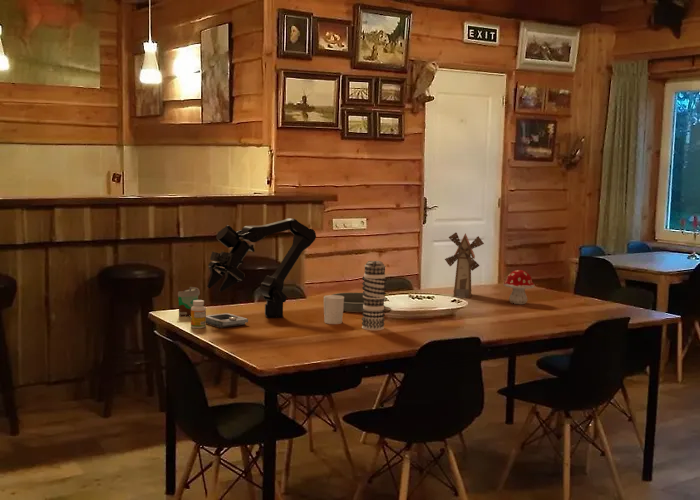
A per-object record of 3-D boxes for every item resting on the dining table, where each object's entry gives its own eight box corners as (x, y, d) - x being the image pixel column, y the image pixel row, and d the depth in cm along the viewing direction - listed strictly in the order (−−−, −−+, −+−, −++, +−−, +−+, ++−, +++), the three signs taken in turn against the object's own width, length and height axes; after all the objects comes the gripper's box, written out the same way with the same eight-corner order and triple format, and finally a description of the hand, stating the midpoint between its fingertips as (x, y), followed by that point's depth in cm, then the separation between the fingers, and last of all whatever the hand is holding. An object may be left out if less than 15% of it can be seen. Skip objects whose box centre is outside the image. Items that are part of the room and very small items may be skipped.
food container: (192, 318, 317) (192, 292, 316) (177, 317, 318) (177, 291, 317) (204, 312, 329) (204, 287, 328) (190, 311, 330) (190, 286, 329)
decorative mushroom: (501, 299, 377) (503, 267, 376) (532, 301, 376) (534, 268, 374) (502, 305, 364) (504, 271, 362) (535, 306, 362) (537, 272, 360)
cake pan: (316, 306, 350) (316, 295, 350) (359, 300, 366) (359, 290, 366) (353, 315, 332) (354, 304, 331) (398, 309, 348) (398, 299, 347)
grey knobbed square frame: (199, 321, 311) (199, 313, 311) (224, 318, 319) (224, 309, 318) (223, 328, 300) (223, 320, 299) (248, 325, 307) (248, 316, 307)
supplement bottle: (191, 325, 304) (191, 299, 303) (206, 325, 305) (206, 299, 304) (190, 328, 299) (190, 302, 298) (205, 328, 299) (205, 302, 298)
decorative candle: (368, 331, 302) (370, 263, 299) (356, 326, 310) (358, 260, 307) (389, 329, 307) (392, 262, 304) (377, 324, 315) (379, 259, 312)
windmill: (442, 296, 380) (445, 232, 376) (444, 292, 393) (446, 229, 389) (481, 299, 377) (484, 233, 374) (481, 294, 390) (484, 231, 386)
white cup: (346, 321, 318) (347, 296, 317) (338, 325, 311) (338, 299, 310) (328, 319, 322) (329, 294, 320) (319, 323, 315) (320, 297, 313)
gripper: (209, 240, 314) (187, 274, 310) (233, 245, 300) (210, 281, 295) (230, 256, 321) (208, 290, 316) (254, 262, 306) (232, 297, 302)
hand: (214, 289), depth 307 cm, fingers open, 9 cm apart
